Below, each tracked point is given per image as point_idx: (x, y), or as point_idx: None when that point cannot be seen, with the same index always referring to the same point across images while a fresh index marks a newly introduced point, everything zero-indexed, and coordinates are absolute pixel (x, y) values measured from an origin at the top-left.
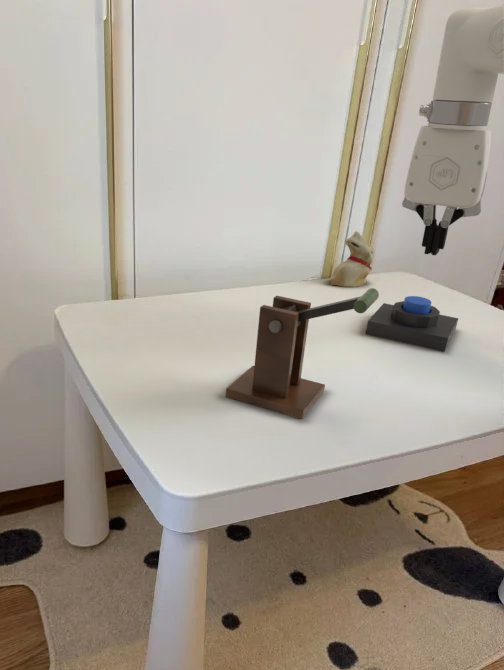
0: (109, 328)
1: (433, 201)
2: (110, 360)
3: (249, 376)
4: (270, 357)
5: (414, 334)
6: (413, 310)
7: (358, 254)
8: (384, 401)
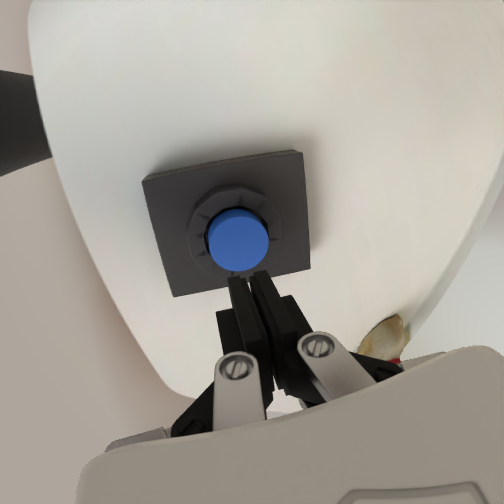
0: (492, 10)
1: (355, 405)
2: None
3: None
4: None
5: (205, 166)
6: (233, 212)
7: None
8: None
